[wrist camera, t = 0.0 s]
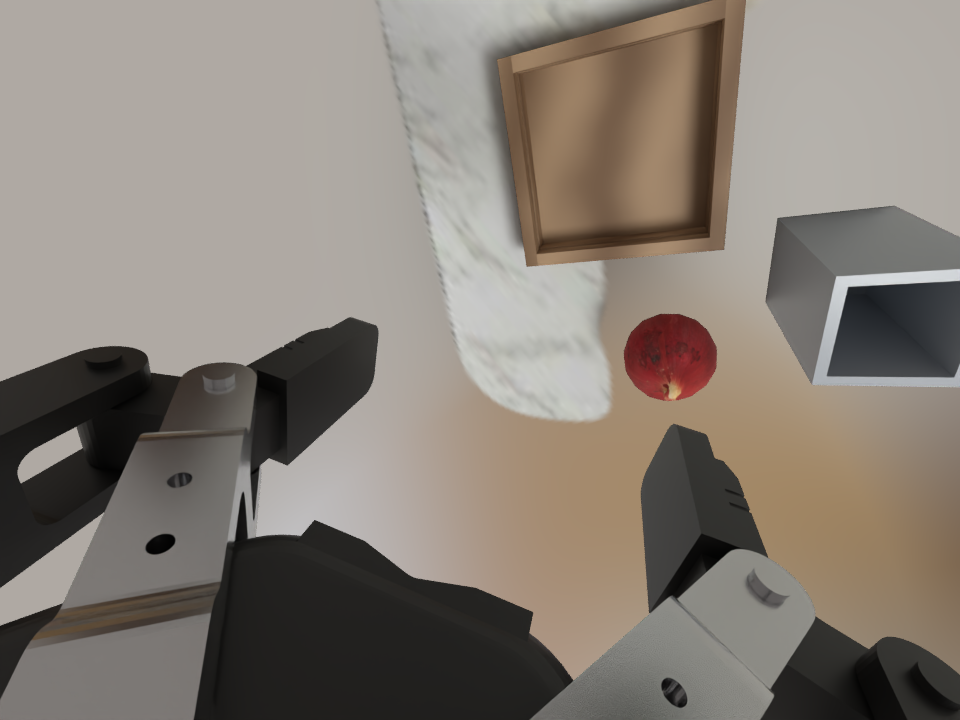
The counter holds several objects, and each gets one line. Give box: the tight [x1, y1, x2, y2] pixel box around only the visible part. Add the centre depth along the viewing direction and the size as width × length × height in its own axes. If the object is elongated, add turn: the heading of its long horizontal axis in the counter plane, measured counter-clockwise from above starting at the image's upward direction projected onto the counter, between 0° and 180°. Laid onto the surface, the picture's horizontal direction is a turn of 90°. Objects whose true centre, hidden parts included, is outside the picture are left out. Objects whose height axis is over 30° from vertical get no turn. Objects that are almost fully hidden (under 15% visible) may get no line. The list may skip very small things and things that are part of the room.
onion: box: [624, 314, 717, 401], centre depth 29 cm, size 6×6×8 cm
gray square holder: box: [766, 206, 960, 387], centre depth 22 cm, size 6×6×10 cm
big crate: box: [497, 0, 746, 267], centre depth 26 cm, size 12×12×3 cm
